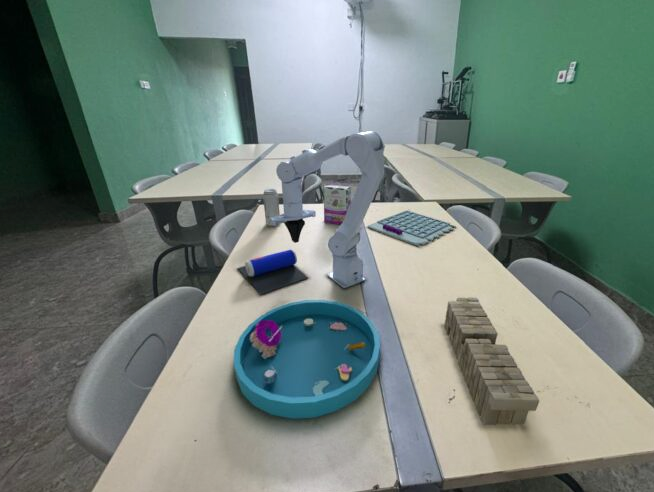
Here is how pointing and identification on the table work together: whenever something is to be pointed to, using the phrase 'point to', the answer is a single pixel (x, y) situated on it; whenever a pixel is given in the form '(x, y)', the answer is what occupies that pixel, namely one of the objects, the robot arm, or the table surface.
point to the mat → (274, 278)
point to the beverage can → (270, 262)
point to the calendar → (412, 227)
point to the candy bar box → (336, 203)
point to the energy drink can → (271, 205)
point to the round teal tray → (307, 358)
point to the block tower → (487, 366)
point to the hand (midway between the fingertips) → (295, 241)
